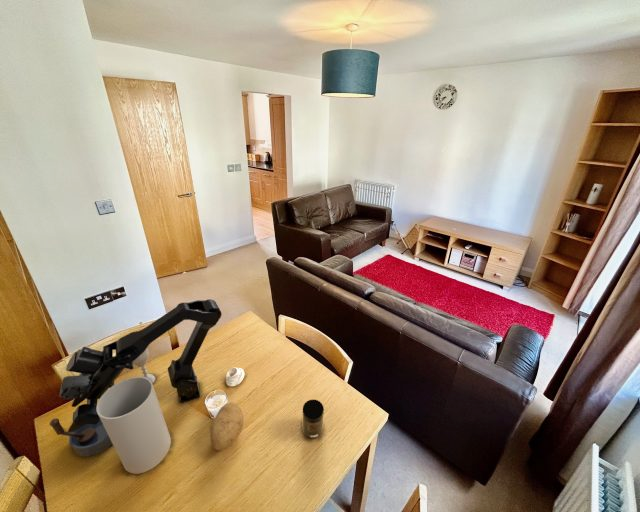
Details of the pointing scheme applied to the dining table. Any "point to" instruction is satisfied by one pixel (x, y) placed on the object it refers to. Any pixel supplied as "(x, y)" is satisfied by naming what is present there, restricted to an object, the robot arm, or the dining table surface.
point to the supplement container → (313, 418)
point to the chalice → (142, 361)
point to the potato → (226, 426)
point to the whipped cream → (234, 376)
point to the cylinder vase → (135, 424)
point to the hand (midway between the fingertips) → (71, 418)
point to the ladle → (81, 437)
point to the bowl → (93, 446)
